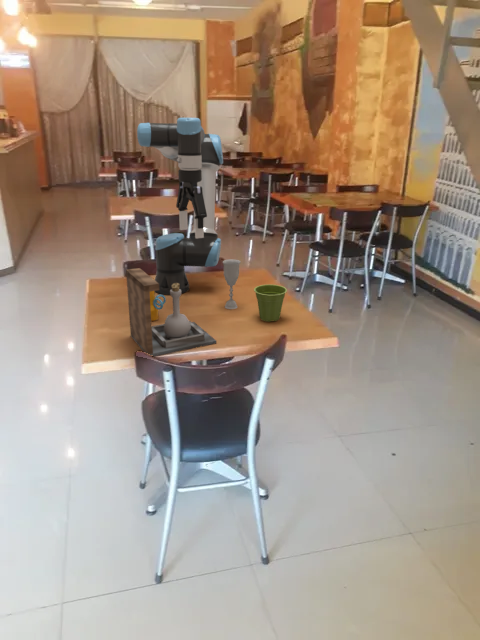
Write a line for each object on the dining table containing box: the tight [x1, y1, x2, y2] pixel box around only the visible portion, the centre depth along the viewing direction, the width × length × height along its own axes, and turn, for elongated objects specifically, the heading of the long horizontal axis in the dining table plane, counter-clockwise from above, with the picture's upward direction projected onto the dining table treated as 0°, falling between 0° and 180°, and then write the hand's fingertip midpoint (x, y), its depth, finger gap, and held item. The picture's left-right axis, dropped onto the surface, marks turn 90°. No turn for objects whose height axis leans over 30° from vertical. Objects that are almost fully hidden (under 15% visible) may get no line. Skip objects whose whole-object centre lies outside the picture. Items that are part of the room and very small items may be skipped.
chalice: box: [222, 259, 241, 310], centre depth 192 cm, size 7×7×18 cm
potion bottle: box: [163, 283, 191, 340], centre depth 162 cm, size 9×9×18 cm
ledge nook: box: [125, 267, 217, 357], centre depth 161 cm, size 18×23×23 cm
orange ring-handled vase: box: [150, 277, 167, 322], centre depth 179 cm, size 12×10×15 cm
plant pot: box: [253, 284, 288, 322], centre depth 182 cm, size 12×12×11 cm
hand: (191, 233), depth 171 cm, fingers open, 13 cm apart
